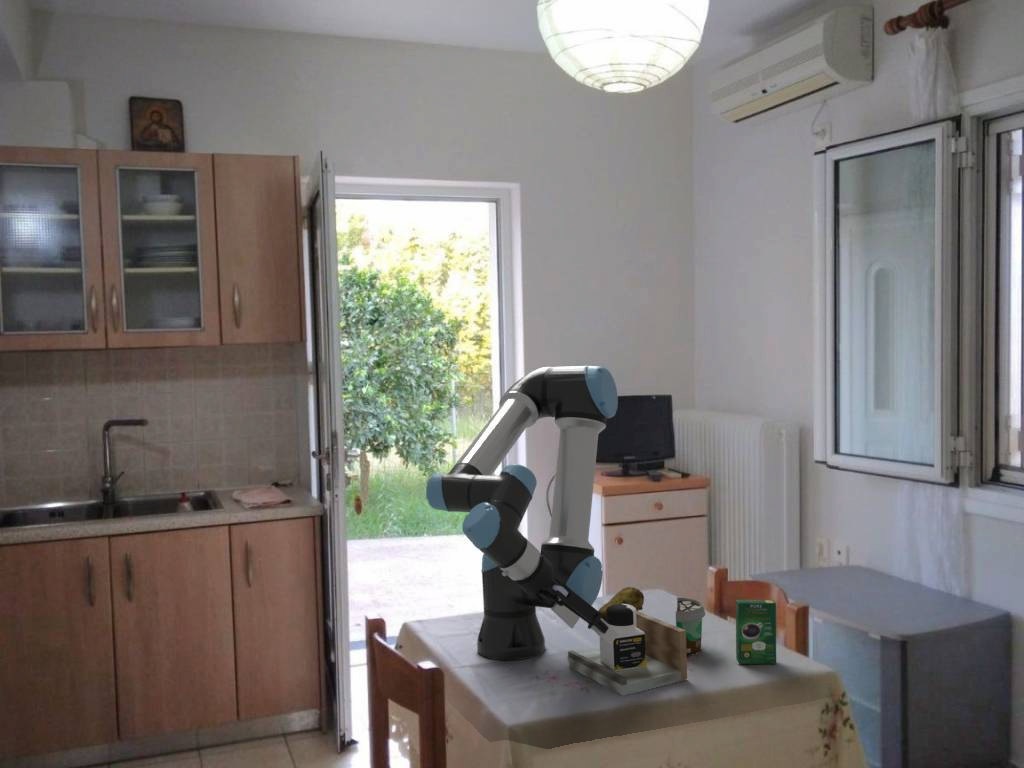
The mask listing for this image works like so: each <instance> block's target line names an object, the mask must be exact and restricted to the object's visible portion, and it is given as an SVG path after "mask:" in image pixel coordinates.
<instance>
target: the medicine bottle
mask: <svg viewBox="0 0 1024 768" xmlns="http://www.w3.org/2000/svg"><path fill="white" fill-rule="evenodd" d="M606 615H607V624H608V625H609V626H610V627H611V628H613V629H614V630H615V631H616V632H617V633H618V635H617V637H616V638H615V640H614V641H613V643H612V644H611V646H610V645H608V644H607V643H606V642H605V641H604V640H603V639H602V638H601V637H600V636H599V650H600V660H601V662H603V663H604V664H605V665H607V666H608V667H609V668H611V669H612V670H613V671H615V672H616V671H622V670H628V669H635V668H641V667H645V666H646V649H645V633H644V632H643V631H641V630H640V629H638V628H636V626H637V623H636V609H635V607H633V606H631V605H628V604H614V605H611V606H609V607H608V608H607V609H606Z"/></svg>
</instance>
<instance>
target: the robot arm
mask: <svg viewBox="0 0 1024 768" xmlns="http://www.w3.org/2000/svg"><path fill="white" fill-rule="evenodd" d="M618 397H619V396H618V389H617V385H616V381H615V379H614V377H613V374H612V373H611V372H610V370H609V369H607V368H606V367H604V366H600V365H598V366H596V365H594V366H593V365H589V364H588V365H578V366H577V365H575V366H574V365H573V366H545V367H540V368H537V369H536V370H533V371H531V372H529V373H527V374H526V375H524V376H523V377H521V378H520V379H518V380H517V381H516V382H514V383H513V384H512V385H511V386H510V387H509V388H508V389H507V390H506V391H505V392H504V394H503V395H502V396H501V397H500V399H499V403H498V405H499V407H498V409H497V410H496V411H495V413H494V414H493V416H492V417H491V418H490V419H489V420H488V422H487V423H485V425H484V427H483V428H482V429H481V431H480V432H479V433H478V435H477V436H476V437H475V438H474V440H473V441H472V442H471V443H470V445H469V446H468V447H467V448H466V450H465V451H464V453H463V454H462V455H461V457H460V458H459V459H458V460H457V462H456V463H455V464H454V465H453V467H452V468H451V470H450V471H449V472H448V473H446V472H441V473H435V474H433V475H432V476H431V477H430V478H429V479H428V481H427V485H426V489H425V493H426V495H425V496H426V499H427V502H428V505H429V506H430V507H431V508H432V509H434V510H435V511H436V510H437V511H443V512H448V513H452V512H455V513H468V514H466V515H465V517H464V519H463V521H462V525H461V528H462V533H463V534H464V535H465V536H466V538H467V539H468V540H469V542H471V543H472V545H473V546H474V547H475V548H476V549H478V550H479V551H480V552H481V553H483V554H482V559H481V571H480V572H481V578H482V579H481V581H482V598H483V600H482V601H483V602H482V603H483V619H482V622H481V626H480V630H479V633H478V637H477V641H476V642H477V643H476V646H477V653H478V652H479V653H480V654H479V653H478V654H479V655H481V654H482V655H484V656H483V657H485V656H486V657H485V658H489V659H491V660H501V661H502V660H503V661H504V660H505V661H508V660H509V661H511V660H512V661H513V660H514V661H515V660H522V659H523V660H524V659H528V658H531V657H534V656H538V655H540V654H541V653H543V652H544V651H545V649H546V640H545V638H546V637H545V636H544V633H543V630H542V627H541V624H540V622H539V619H538V616H537V609H536V608H545V609H550V610H551V611H553V613H554V614H556V616H558V617H559V618H560V619H561V620H562V621H563V622H564V623H565V624H566V625H567V626H568V627H569V628H570V629H573V628H575V625H577V623H578V621H579V620H580V619H581V620H583V621H584V622H586V623H587V629H588V630H592V631H593V632H595V634H597V636H599V638H600V637H601V638H602V639H603V640H604V641H605V642H606V643H607V644H608V645H610V646H611V644H612V643H613V641H614V640H615V638H616V637H617V635H618V633H617V632H616V631H615V630H614V629H613V628H611V627H610V626H609V625H608V624H607V623H606V622H605V621H604V620H603V619H602V616H603V615H602V613H600V612H599V611H598V610H597V609H596V608H595V607H594V606H593V604H594V603H595V602H596V600H597V598H598V596H599V593H600V590H601V587H602V586H601V585H602V582H603V570H602V568H603V564H602V562H601V560H600V559H599V558H598V557H596V556H595V548H594V547H593V546H592V544H591V543H590V539H589V538H590V537H589V536H590V525H591V516H592V515H591V514H592V506H593V495H594V487H595V486H594V485H595V484H594V483H595V475H596V473H595V472H596V465H597V464H596V461H597V453H598V442H599V441H598V440H599V434H600V433H601V432H602V431H604V430H605V429H606V428H607V419H611V418H613V417H615V416H616V414H617V413H616V412H617V411H618V407H619V405H618V404H619V398H618ZM543 418H544V419H545V418H554V424H555V425H556V426H557V428H558V429H559V440H558V451H557V460H556V469H555V477H554V478H555V479H554V489H553V497H552V498H553V499H552V507H551V508H552V509H551V514H550V516H551V517H550V526H549V534H548V537H547V538H546V539H545V540H544V541H543V542H542V543H541V545H540V550H539V549H538V548H537V547H536V546H535V545H534V544H533V543H532V542H531V541H530V540H528V538H527V537H525V536H524V535H523V534H522V533H521V532H520V531H519V528H520V525H521V523H522V522H523V519H524V516H525V514H526V512H527V509H528V508H529V505H530V503H531V501H532V499H533V498H534V497H533V496H534V494H535V490H536V487H537V483H538V482H537V481H538V480H537V478H536V475H535V474H534V472H533V471H532V470H531V469H529V468H528V467H526V466H524V465H521V464H519V463H510V464H508V465H505V466H504V467H503V469H502V470H501V471H500V474H499V475H493V474H494V473H495V472H496V470H497V469H498V468H499V466H500V465H501V463H502V462H503V461H504V459H505V458H506V456H507V455H508V454H509V452H510V451H511V449H512V448H513V447H514V445H515V444H516V442H517V441H518V439H520V437H521V436H522V434H523V433H524V431H525V430H526V429H527V428H530V427H532V426H534V425H535V424H536V423H537V421H538V420H540V419H543ZM482 655H481V656H482Z"/></svg>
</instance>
